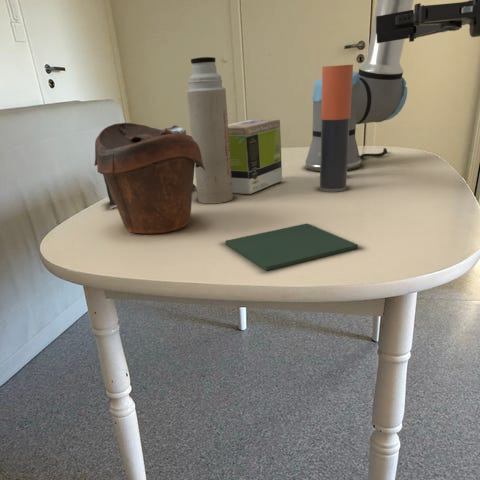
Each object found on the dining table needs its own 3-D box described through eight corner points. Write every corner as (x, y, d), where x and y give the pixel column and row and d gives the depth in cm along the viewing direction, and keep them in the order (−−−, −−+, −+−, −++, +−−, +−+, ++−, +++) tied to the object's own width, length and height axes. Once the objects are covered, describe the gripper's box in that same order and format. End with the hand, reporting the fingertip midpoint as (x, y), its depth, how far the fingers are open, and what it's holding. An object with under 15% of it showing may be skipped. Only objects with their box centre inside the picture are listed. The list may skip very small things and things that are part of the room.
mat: (307, 226, 79) (307, 223, 79) (357, 248, 68) (358, 244, 68) (225, 244, 74) (225, 240, 73) (266, 271, 63) (266, 267, 62)
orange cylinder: (338, 116, 100) (340, 65, 95) (356, 117, 95) (359, 64, 90) (315, 119, 98) (316, 67, 93) (332, 120, 93) (334, 65, 88)
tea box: (250, 179, 119) (247, 119, 112) (283, 182, 113) (282, 118, 106) (215, 191, 108) (210, 126, 101) (250, 195, 103) (246, 126, 96)
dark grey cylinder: (335, 184, 107) (338, 116, 100) (352, 189, 102) (356, 117, 95) (314, 188, 105) (315, 119, 98) (329, 193, 100) (332, 120, 93)
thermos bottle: (236, 194, 104) (227, 56, 91) (228, 203, 98) (217, 55, 84) (203, 195, 106) (190, 59, 93) (193, 203, 99) (177, 58, 86)
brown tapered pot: (197, 239, 77) (185, 127, 68) (90, 239, 80) (65, 132, 72) (219, 211, 92) (211, 116, 83) (128, 212, 96) (112, 122, 87)
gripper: (509, 22, 73) (375, 44, 80) (480, 42, 95) (376, 58, 101) (516, -34, 70) (375, -6, 77) (484, 0, 92) (377, 19, 98)
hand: (376, 30), depth 89 cm, fingers open, 13 cm apart
